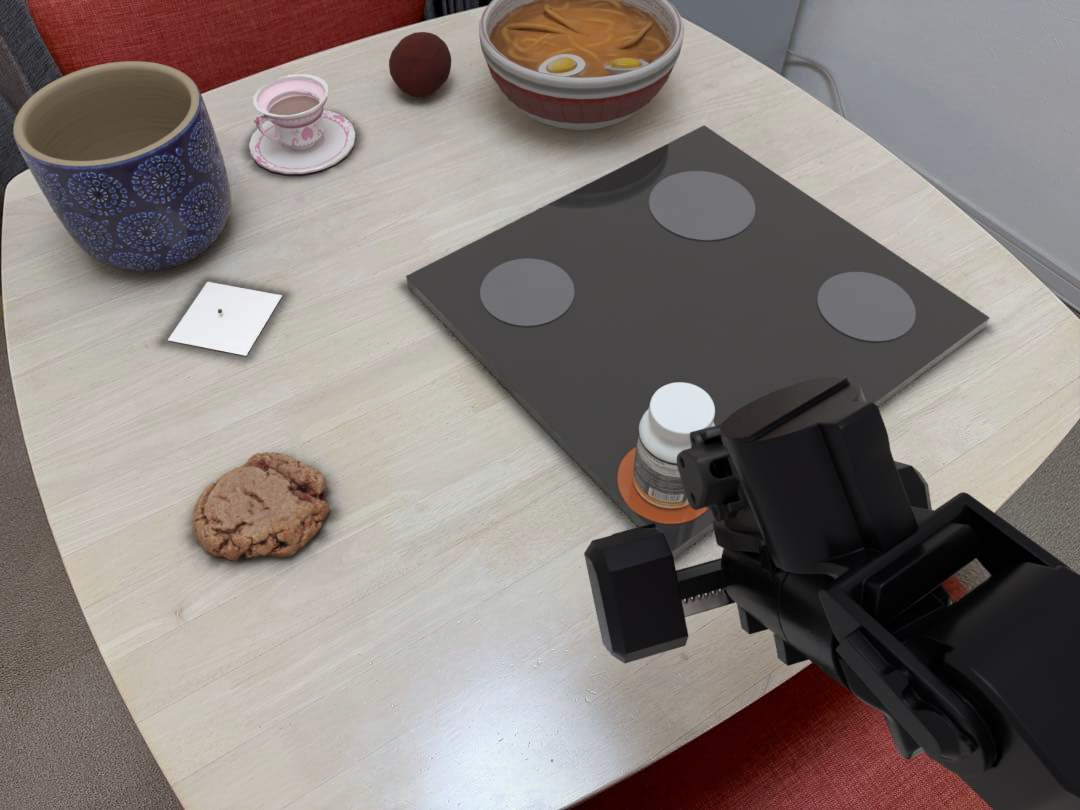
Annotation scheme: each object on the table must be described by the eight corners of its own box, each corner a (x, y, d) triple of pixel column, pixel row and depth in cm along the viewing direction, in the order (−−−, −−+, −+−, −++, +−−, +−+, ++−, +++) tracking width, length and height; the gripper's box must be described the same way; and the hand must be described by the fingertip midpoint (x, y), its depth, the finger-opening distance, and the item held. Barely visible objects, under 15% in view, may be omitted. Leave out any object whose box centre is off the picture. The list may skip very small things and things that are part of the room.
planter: (219, 295, 87) (168, 170, 75) (54, 288, 87) (-23, 163, 76) (262, 186, 97) (223, 61, 85) (113, 181, 98) (54, 56, 86)
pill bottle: (669, 441, 74) (684, 363, 66) (718, 487, 71) (739, 412, 63) (617, 476, 72) (626, 400, 64) (665, 525, 69) (680, 452, 61)
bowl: (631, 182, 97) (639, 101, 89) (448, 129, 103) (440, 49, 95) (700, 76, 110) (712, -3, 102) (533, 34, 116) (533, -44, 108)
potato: (459, 70, 111) (455, 16, 105) (447, 109, 106) (441, 55, 100) (401, 66, 111) (394, 13, 106) (386, 105, 106) (377, 51, 101)
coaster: (246, 355, 82) (243, 350, 81) (167, 340, 83) (164, 334, 82) (282, 295, 86) (280, 289, 86) (207, 281, 88) (205, 275, 87)
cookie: (178, 506, 72) (165, 486, 70) (296, 442, 76) (287, 421, 73) (230, 596, 67) (219, 578, 65) (353, 523, 71) (346, 503, 69)
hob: (983, 328, 84) (990, 316, 82) (670, 561, 69) (672, 551, 67) (702, 136, 102) (704, 123, 101) (407, 286, 87) (405, 274, 86)
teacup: (314, 100, 107) (302, 52, 102) (377, 142, 102) (369, 94, 97) (229, 144, 102) (213, 96, 97) (291, 191, 96) (278, 142, 92)
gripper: (992, 382, 41) (819, 363, 56) (606, 481, 37) (534, 432, 53) (1023, 610, 42) (847, 531, 57) (655, 723, 39) (572, 608, 54)
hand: (704, 521), depth 55 cm, fingers open, 9 cm apart
